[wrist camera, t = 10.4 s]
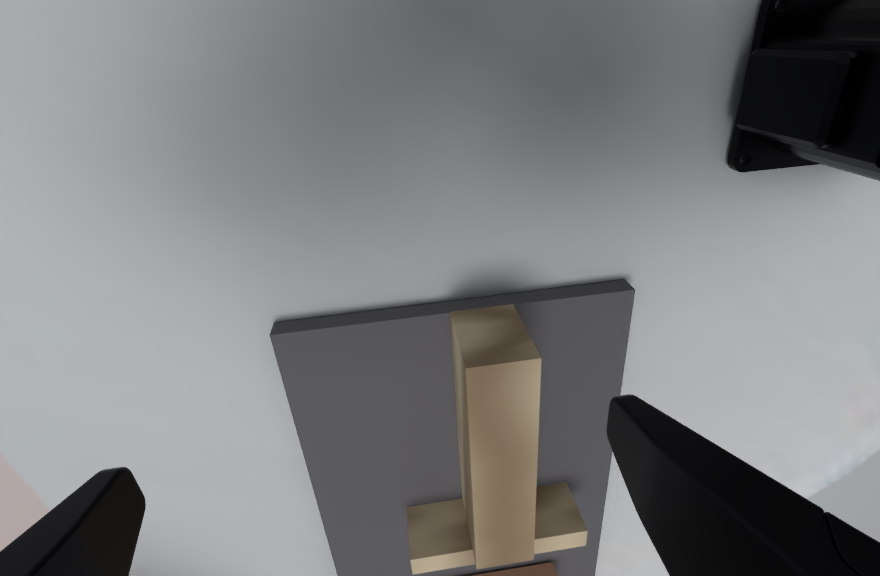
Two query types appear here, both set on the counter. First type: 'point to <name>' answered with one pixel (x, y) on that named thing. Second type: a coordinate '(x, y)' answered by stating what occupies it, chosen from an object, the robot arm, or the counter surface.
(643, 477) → the robot arm
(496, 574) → the terracotta tile
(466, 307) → the charcoal mat
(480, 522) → the beech scraper
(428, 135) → the counter surface
